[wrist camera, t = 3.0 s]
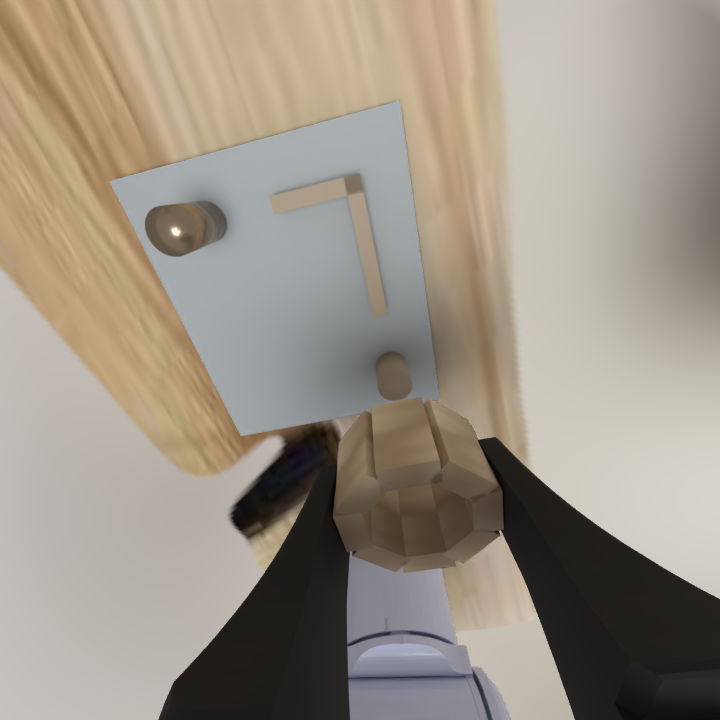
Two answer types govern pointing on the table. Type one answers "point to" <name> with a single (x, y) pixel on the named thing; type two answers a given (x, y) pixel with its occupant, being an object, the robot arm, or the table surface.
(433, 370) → the board
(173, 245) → the end peg
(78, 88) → the table surface
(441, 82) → the table surface
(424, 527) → the ring
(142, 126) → the table surface
